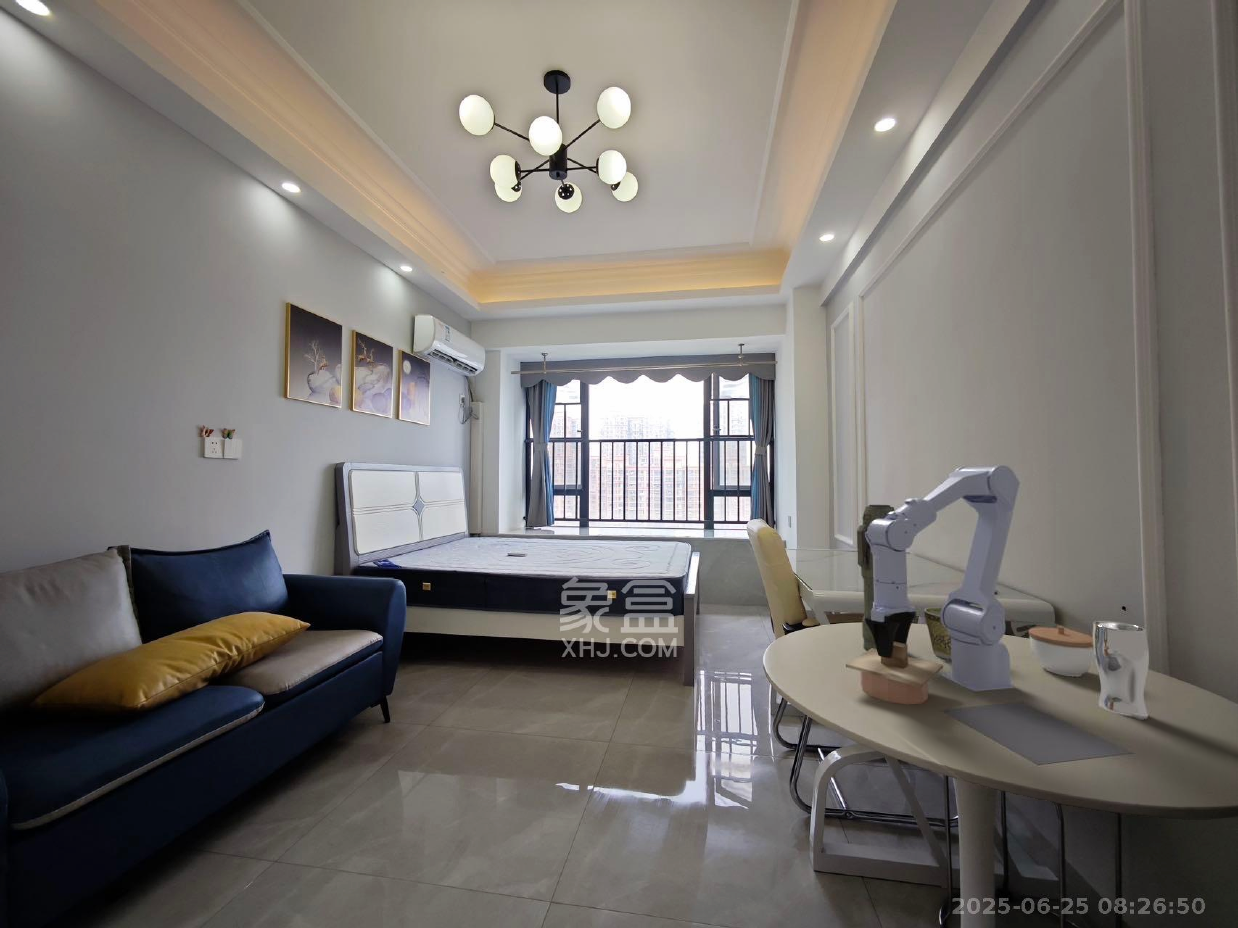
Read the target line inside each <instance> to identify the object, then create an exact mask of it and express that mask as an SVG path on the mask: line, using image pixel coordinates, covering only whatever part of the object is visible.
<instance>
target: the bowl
mask: <svg viewBox="0 0 1238 928" xmlns="http://www.w3.org/2000/svg"><path fill="white" fill-rule="evenodd" d="M859 673H860V675H859V676H860V686H861V690H862V691H863V692H865V693H867V694H868V695H870V696H871V697H872V698H873V697H874V698H876V699H879V700H883V701H885V702H889V703H893V704H894V703H895V704H903V705H915V704H916V705H917V704H923V703H924V702H925V701H927V700H928V699H929V691H928V690H929V688H928V687H929V686H928V683H929V682H928V683H927V684H925V685H924V686H923V687H918V686H914V685H910V684H907V683H903V682H899V681H896V680H892V679H888V678H884V677H881V676H877V675H873V674H869V673H866V672H862V671H859Z"/></svg>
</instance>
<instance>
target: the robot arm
mask: <svg viewBox="0 0 1238 928" xmlns="http://www.w3.org/2000/svg"><path fill="white" fill-rule="evenodd" d="M1019 487H1020V481H1019V479H1018V477H1017V475H1016V473H1015V472H1014V471H1013V469H1012V468H1011V467H1010V466H1008V465H1004V464H1003V465H1002V464H1001V465H997V466H993V465H992V466H971V467H970V466H961V467H958V468H956V469H955V470H954V471H952V472H950V473H949V474H948V478H947V479H946V480H945V481H943V482H942V483H941V484H940V485H939V486H937V487H935V489H933V491H931V492H929V493H928V494H927V495H926V496H925V497H924V498H919V497H913V498H907V499H905V500H903V501H904V504H903V505H901V506H900V507H898V508H897V509H894V510H895V511H894V512H890V513H888V516H887V517H886V518H885V519H876V520H874V521H873V522H872V523H871V524H870V525H869V526H868V529H867V532H865V537H866V540H867V542H868V543H869V544H870V547H871V553H872V555H873V579H874V602H873V609H872V610H871V616H867V617H865V622H866V624H867V625H868V627H869V629H870V631H871V633H872V635H873V638H874V642H875V645H876V649H877V652H878V655H879V656H881V657H885V658H891V657H892V653H893V645H894V642H898V643H903V644H907V642H908V637H909V632H910V629H911V626H912V623H913V621H914V620H915V618H916V616H917V612H916V607H915V606H914V605H910V599H909V598H908V573H907V572H908V570H907V568H908V567H907V549H909V548H910V547H911V546H912V545H913V543H914V540H915V537H917V534H919V533H921V532H922V531H924V529H926V528H927V527H929V526H930V525H932V524H933V523H935V522H936V521H937V517H938V516H937V515H938V514H937V513H938V512H940V511H942V510H943V509H945V508H946V507H948V506H950V505H952V504H954V503H955V502H957V501H958V500H960V499H962V500H963V501H964V502H965V503H966V504H968V506H969V507H971V508H972V509H974V510H975V511H976V512H977V513H976V514H977V515H978V517H977V520H976V525H975V529H974V534H973V538H972V541H971V542H972V543H971V546H970V551H969V554H968V559H967V562H966V567H965V570H964V575H963V579H962V584H961V586H960V587H958V588H956V589H954V590H953V591H950V592H949V594H948V597H947V600H946V602H945V603H944V604H943V605H942V606H941V607H942V609H941V613H940V618H941V622H942V624H943V626H944V627H945V628H947V629H948V634H949V635H951V657H952V660H951V673H942V674H941V675H940V676H941V677H943V678H945V679H948V680H950V681H951V682H954V683H955V684H958V685H959V686H962V687H964V688H966V689H968V690H970V691H974V692H980V691H992V690H995V691H996V690H1003V689H1005V690H1006V689H1013V688H1014V689H1015V687H1016V686H1014V685H1012V682H1011V681H1012V679H1011V658H1010V652H1009V650H1008V648H1007V646H1006V644H1005V643H1004V642H1003V641H1001V640H1002V638H1003V637H1004V636H1005V632H1006V622H1005V621H1006V620H1005V615H1006V611H1007V610H1006V608H1005V606H1004V605H1003V604H1002V603H1001V601H999V600H998V598H996V596H995V592H996V588H997V584H998V579H999V575H1000V571H1001V567H1002V561H1003V557H1004V554H1005V548H1006V545H1007V540H1008V536H1009V532H1010V528H1011V524H1012V519H1013V514H1014V508H1015V505H1016V500H1017V495H1018V492H1019ZM974 605H975V606H974ZM979 606H980V607H979Z"/></svg>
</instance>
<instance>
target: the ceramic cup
mask: <svg viewBox="0 0 1238 928" xmlns="http://www.w3.org/2000/svg"><path fill="white" fill-rule="evenodd" d="M942 607H943V606H941V607H940V606H937V607H936V606H934V607H932V606H931V607H925V608H924V609H923V612H924V613H923V614H924V618H925V623H926V626H927V630H928V635H929V639H930V642H931V648H932V651H933V653H934V655H935V656H936V657H938V658H941V659H945V660H949V661H952V657H951V635H949V634H948V629H947V628H945V627H944V626H943V624H942V622H941V618H940V613H941V609H942Z"/></svg>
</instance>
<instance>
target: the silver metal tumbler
mask: <svg viewBox="0 0 1238 928" xmlns="http://www.w3.org/2000/svg"><path fill="white" fill-rule="evenodd" d="M1092 626H1093V627H1092V636H1091V637H1092V646H1093V655H1094V660H1095V661H1094V664H1095V668H1096V671H1097V674H1098V678H1099V683H1100V684H1099V685H1100V693H1099V699H1098V706H1099V708H1102V709H1104V710H1106V711H1108V712H1111V713H1114V714H1117V715H1121V716H1126V717H1130V718H1131V717H1132V718H1135V719H1138V720H1141V721H1144V719H1145V720H1147V719H1149V714H1148V710H1147V707H1146V703H1145V697H1144V696H1145V694H1144V691H1145V687H1146V686H1145V685H1146V680H1147V676H1148V670H1149V662H1150V661H1149V660H1150V654H1149V653H1150V652H1149V644H1148V638H1147V630H1146V628H1144V627H1142V626H1139V625H1135V624H1131V623H1127V622H1121V621H1113V620H1095V621H1093V622H1092Z"/></svg>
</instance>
